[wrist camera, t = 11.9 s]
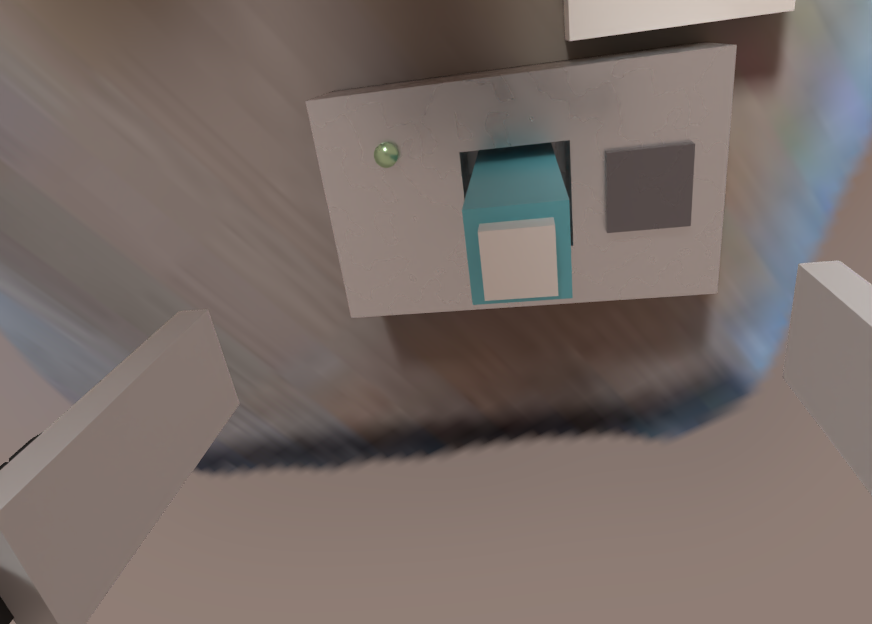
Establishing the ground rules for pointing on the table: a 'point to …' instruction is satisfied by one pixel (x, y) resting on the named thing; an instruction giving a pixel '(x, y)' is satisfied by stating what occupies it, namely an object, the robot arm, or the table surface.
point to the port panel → (577, 159)
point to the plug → (517, 226)
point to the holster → (656, 14)
